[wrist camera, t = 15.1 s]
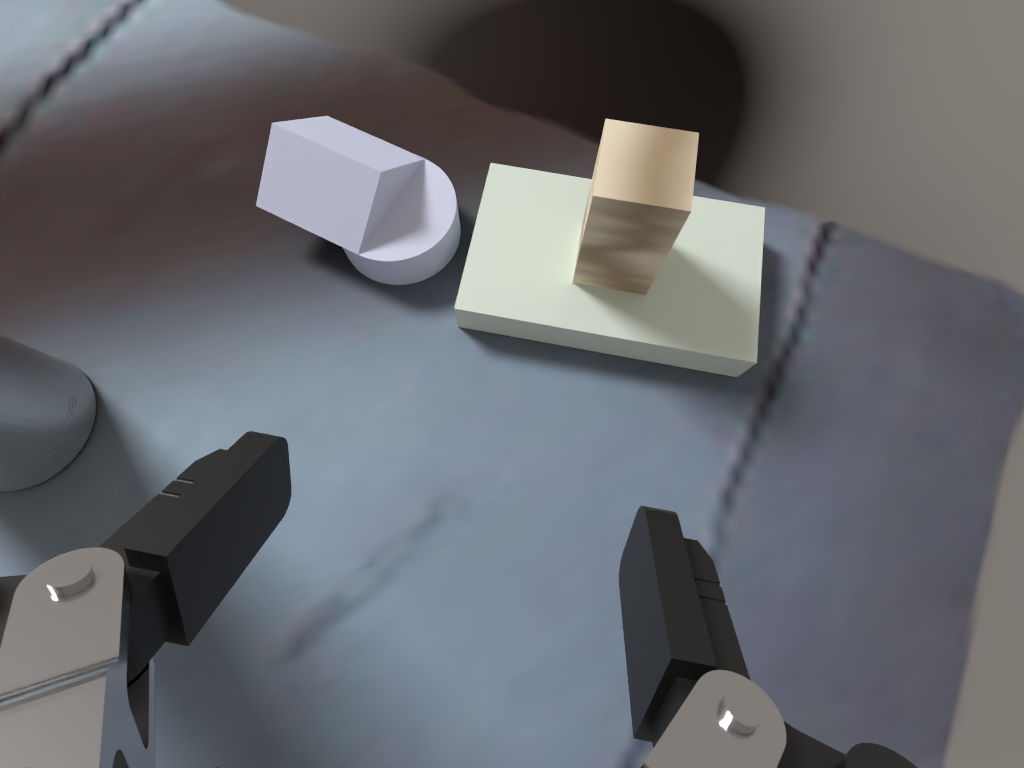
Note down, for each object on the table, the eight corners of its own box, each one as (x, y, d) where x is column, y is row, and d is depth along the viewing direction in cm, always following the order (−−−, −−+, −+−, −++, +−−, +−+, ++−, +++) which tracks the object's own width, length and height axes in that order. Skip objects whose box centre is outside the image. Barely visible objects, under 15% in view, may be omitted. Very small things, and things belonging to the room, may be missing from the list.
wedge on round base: (276, 233, 39) (423, 304, 37) (230, 172, 33) (405, 254, 31) (341, 149, 41) (481, 211, 40) (310, 76, 35) (476, 147, 33)
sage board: (458, 326, 37) (454, 308, 34) (492, 190, 40) (490, 162, 37) (737, 377, 36) (756, 362, 33) (746, 232, 39) (764, 207, 36)
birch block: (572, 282, 34) (592, 195, 26) (582, 220, 36) (605, 118, 27) (645, 295, 34) (691, 211, 26) (653, 232, 36) (698, 132, 27)
